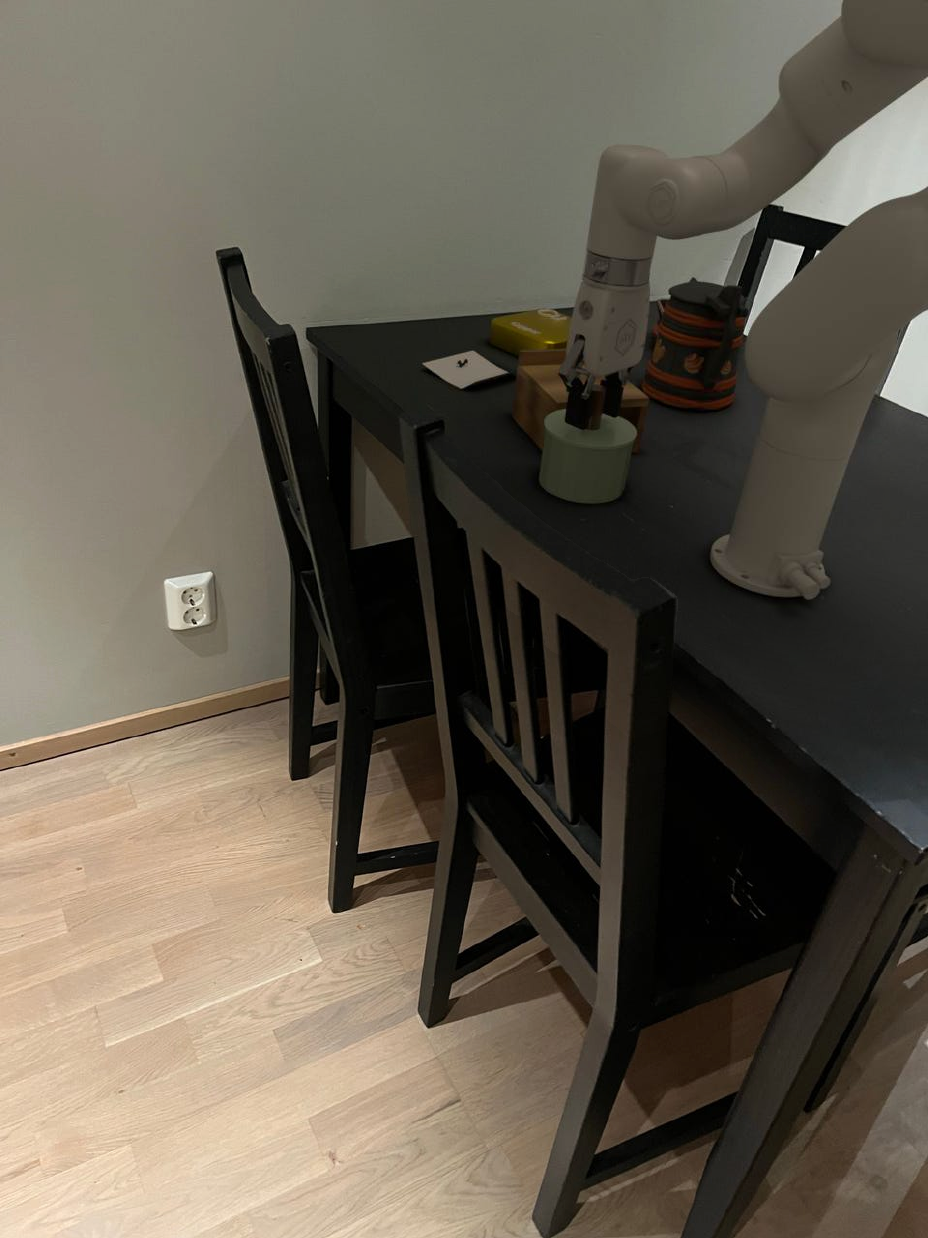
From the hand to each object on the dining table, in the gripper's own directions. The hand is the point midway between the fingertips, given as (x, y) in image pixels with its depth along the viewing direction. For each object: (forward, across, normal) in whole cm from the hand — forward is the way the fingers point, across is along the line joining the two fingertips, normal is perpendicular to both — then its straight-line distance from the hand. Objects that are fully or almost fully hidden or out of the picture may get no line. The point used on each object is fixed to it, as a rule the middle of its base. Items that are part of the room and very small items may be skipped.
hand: (591, 418), depth 113 cm
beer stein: (+9, +38, +7) cm, 40 cm away
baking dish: (+9, +59, +21) cm, 64 cm away
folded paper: (+9, +17, +36) cm, 41 cm away
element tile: (+9, +37, +37) cm, 54 cm away
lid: (+2, 0, 0) cm, 2 cm away
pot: (+9, 0, 0) cm, 9 cm away
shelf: (+9, +12, +11) cm, 18 cm away
